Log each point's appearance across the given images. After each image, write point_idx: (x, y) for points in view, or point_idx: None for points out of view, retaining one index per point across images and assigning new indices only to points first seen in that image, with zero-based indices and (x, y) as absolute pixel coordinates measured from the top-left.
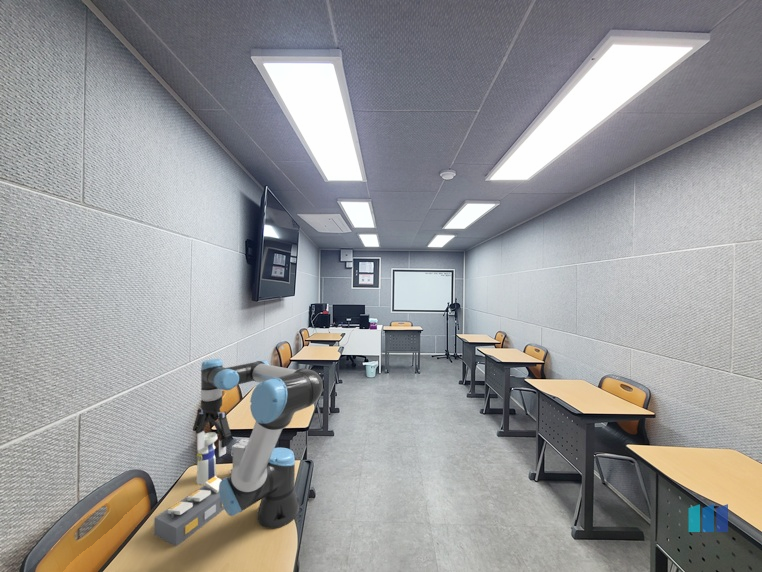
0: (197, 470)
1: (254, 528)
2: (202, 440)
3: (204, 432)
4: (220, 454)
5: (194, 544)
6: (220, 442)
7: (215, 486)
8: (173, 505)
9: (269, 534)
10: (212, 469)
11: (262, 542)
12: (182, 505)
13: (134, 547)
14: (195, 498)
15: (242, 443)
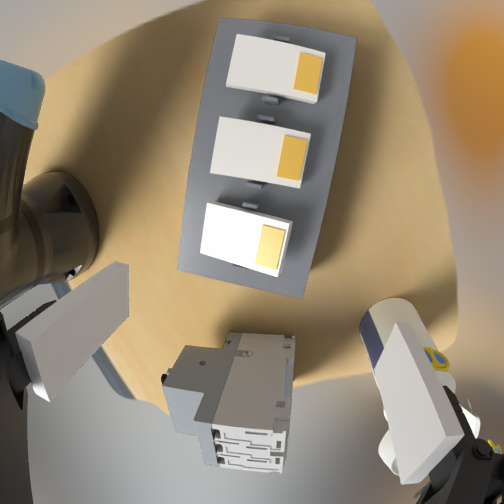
0: (422, 326)
1: (76, 161)
2: (396, 402)
3: (400, 474)
4: (106, 270)
5: (185, 61)
6: (35, 320)
7: (228, 219)
8: (345, 102)
9: (42, 159)
10: (369, 346)
11: (44, 135)
12: (268, 70)
13: (357, 17)
14: (249, 121)
15: (252, 450)
